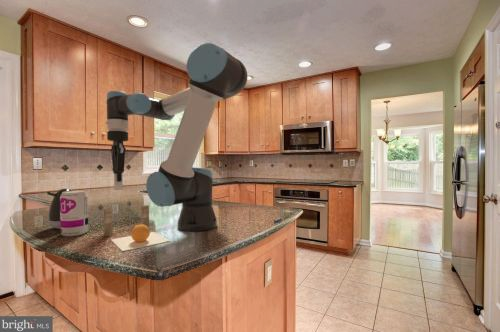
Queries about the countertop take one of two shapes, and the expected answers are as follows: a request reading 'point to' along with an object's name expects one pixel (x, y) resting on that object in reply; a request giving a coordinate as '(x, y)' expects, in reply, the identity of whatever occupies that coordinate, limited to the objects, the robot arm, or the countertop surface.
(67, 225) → the supplement can
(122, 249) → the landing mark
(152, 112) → the robot arm
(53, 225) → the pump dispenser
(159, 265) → the countertop surface
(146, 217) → the post right
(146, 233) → the ball
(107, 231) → the post left
